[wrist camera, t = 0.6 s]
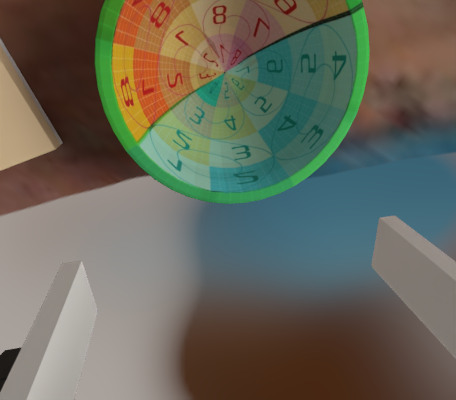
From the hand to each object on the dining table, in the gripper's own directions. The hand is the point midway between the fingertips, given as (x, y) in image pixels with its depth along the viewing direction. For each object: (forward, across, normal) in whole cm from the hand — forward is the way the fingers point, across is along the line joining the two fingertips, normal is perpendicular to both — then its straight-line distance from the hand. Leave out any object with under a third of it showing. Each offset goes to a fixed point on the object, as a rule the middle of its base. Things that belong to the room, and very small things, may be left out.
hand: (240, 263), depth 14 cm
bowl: (+26, +4, +6) cm, 27 cm away
